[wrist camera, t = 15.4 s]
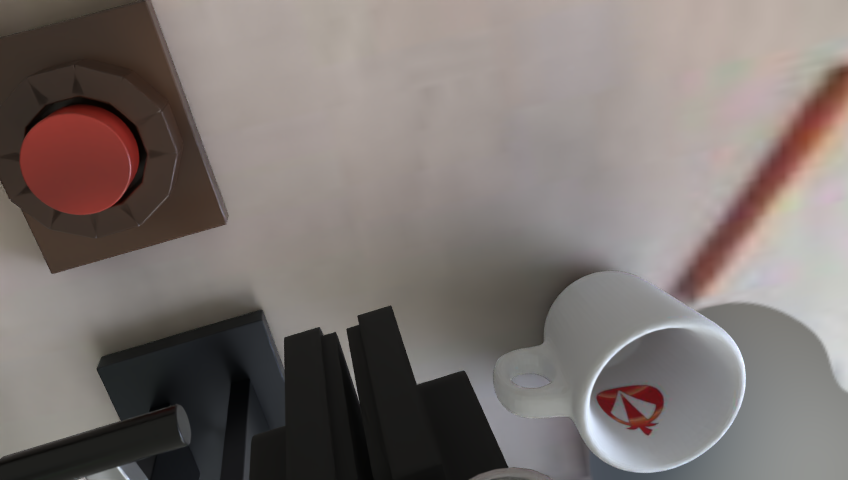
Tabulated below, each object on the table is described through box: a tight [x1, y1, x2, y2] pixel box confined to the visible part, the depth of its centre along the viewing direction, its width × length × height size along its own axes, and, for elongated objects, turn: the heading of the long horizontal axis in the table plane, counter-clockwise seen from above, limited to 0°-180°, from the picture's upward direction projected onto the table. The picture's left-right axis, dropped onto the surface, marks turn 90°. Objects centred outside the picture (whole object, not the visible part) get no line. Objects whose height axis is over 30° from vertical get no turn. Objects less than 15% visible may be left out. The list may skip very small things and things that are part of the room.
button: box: [19, 104, 139, 215], centre depth 30 cm, size 4×4×2 cm
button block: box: [0, 0, 228, 274], centre depth 32 cm, size 10×8×3 cm
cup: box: [493, 271, 746, 473], centre depth 38 cm, size 11×8×8 cm
